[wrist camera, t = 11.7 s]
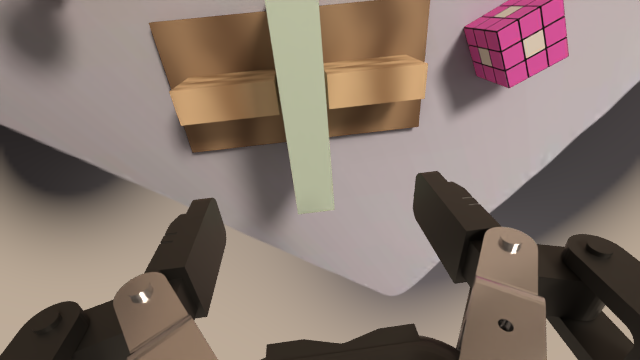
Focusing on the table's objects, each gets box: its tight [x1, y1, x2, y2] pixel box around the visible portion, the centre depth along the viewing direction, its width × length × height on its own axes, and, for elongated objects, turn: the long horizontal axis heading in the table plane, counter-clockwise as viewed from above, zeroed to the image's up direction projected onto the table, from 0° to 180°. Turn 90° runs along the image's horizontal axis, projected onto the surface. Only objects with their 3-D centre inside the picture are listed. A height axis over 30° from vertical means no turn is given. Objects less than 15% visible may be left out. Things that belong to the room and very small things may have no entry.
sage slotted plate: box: [265, 0, 334, 214], centre depth 25 cm, size 16×3×12 cm, turn 5°
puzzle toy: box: [464, 0, 569, 88], centre depth 29 cm, size 6×6×6 cm
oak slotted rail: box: [149, 0, 430, 153], centre depth 29 cm, size 26×13×6 cm, turn 95°
